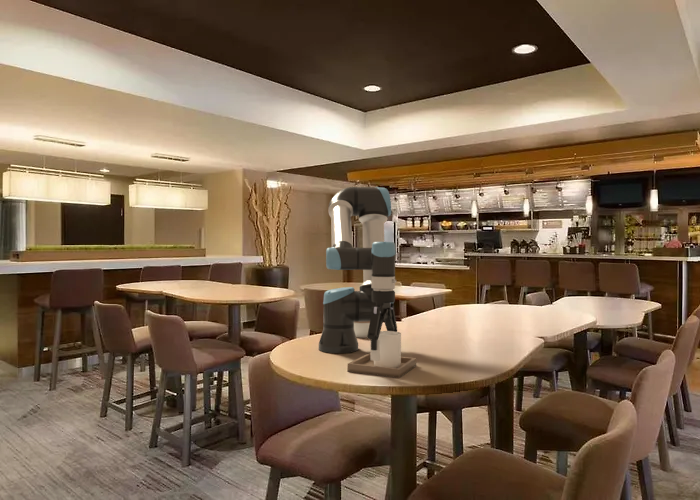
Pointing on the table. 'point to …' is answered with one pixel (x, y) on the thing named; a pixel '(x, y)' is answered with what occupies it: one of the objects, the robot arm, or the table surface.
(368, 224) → the robot arm
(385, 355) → the mug
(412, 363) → the tray
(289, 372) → the table surface
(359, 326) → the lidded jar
